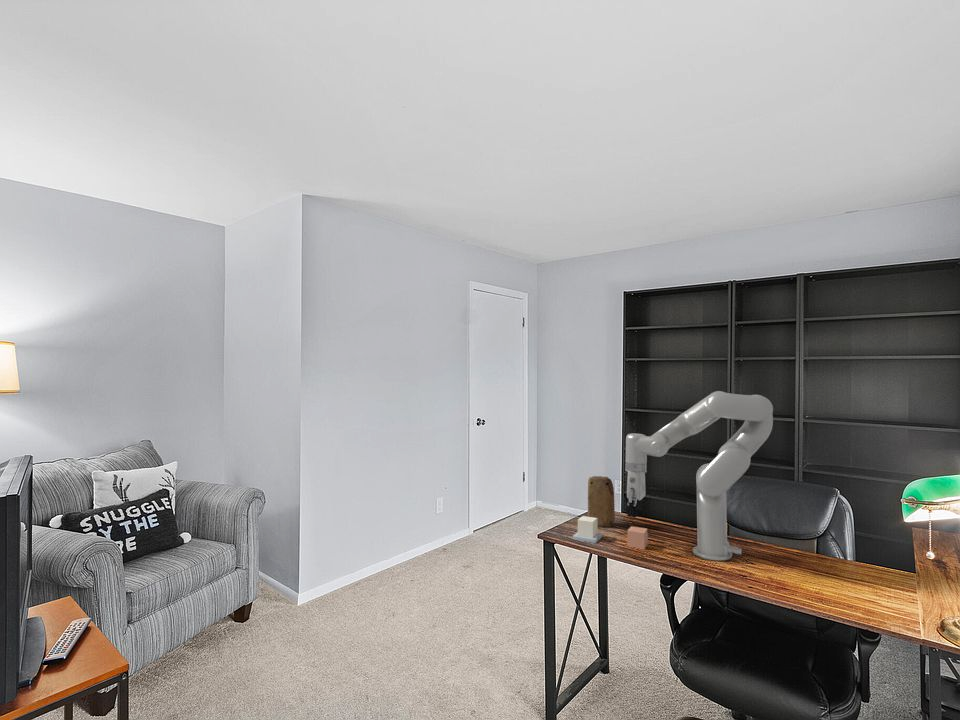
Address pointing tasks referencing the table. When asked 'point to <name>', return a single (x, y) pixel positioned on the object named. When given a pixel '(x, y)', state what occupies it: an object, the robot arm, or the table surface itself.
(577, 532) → the plate
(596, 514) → the block
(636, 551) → the table surface
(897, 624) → the table surface
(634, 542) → the terracotta brick
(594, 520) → the cream brick
